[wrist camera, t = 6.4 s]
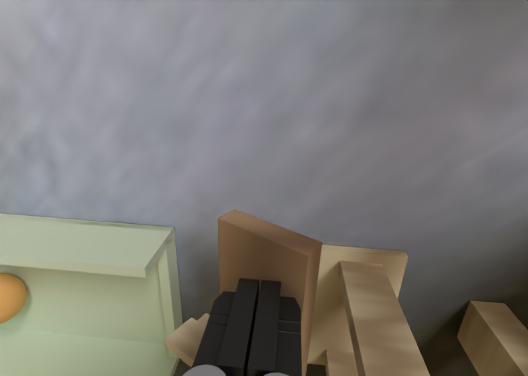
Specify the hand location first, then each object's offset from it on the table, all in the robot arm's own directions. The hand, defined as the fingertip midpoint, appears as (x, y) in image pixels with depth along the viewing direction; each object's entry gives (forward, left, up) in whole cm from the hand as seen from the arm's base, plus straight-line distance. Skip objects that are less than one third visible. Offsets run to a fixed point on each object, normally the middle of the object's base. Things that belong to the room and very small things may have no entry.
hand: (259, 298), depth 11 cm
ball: (+6, -17, -5) cm, 19 cm away
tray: (+6, -13, -7) cm, 16 cm away
